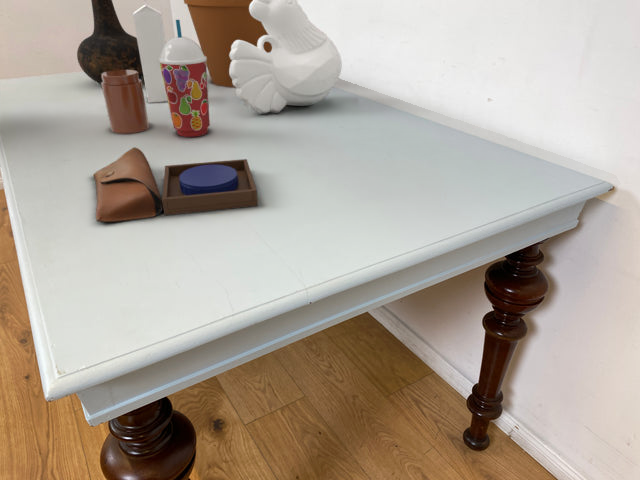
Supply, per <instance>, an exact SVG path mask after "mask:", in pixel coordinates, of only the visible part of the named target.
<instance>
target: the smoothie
mask: <svg viewBox="0 0 640 480" xmlns="http://www.w3.org/2000/svg"><path fill="white" fill-rule="evenodd" d="M175 25H176V33H177V36H175V37H172V38H170V39H169V40H168V41H166V44H165V45H164V47H163V49H162V52H161V56H160V58H159V62H160V67H161V72H162V76H163V81H164V85H165V90H166V95H167V99H168V101H167V103H168V108H169V113H170V118H171V122H172V126H173V129H174V130H176V133H177V135H178V136H181V137H185V138H195V137H196V138H197V137H201V136H204V135H206V134H207V133H208V131H209V127H210V126H211V124H210V103H209V86H208V68H207V64H206V58H207V57H206V56H204V54H203V52H202V49H201V46H200V44H198V43H197V42H195V41H194V40H193V39H191V38H189V37H186V36H182V28H181V27H182V26H181V20H180V19H175Z"/></svg>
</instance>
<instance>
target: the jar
mask: <svg viewBox="0 0 640 480" xmlns="http://www.w3.org/2000/svg"><path fill="white" fill-rule="evenodd" d="M101 75H102V77H101V78H102V80H103V82H101V84H100V86H101V90H102V94H103V100H104V103H105V109H106V113H107V118H108V122H109V126H110V131H111V132H112V133H114V134H123V135H124V134H125V135H128V134H137V133H142V132H145V131H147V130H148V129H150V122H149V117H148V110H147V104H146V99H145V93H144V88H143V82H142V79H139V78H138V72H137V71H135V70H113V71H107V72H104V73H102V74H101Z"/></svg>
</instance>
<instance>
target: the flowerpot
mask: <svg viewBox="0 0 640 480" xmlns="http://www.w3.org/2000/svg"><path fill="white" fill-rule="evenodd" d="M252 1H253V0H183V4H184V5H186V6H187V9H188V12H189V15H190V18H191V21H192V25H193V28H194V31H195V35H196V37H197V40H198V43H199V47H200V48H201V50H202V52H203V54H204V56H206V57H207V58H206V64H207V72H208V74H209V77H210V80H211V83H212V84H214V85H216V86H220V87H225V88H236V87H235V86H234V85H233V83H232V78H231V77H230V75H229V68H230V64H231V62H232V60H231V59H230V56H229V54H230V52H231V46H232V44H233V43H234V41H236V40H242V41H245V42H248V43H250V44H252V45H254V46H256V47H257V42H258V40H259V38H260V37H262V36H263V35H268V33H267V32H266V30H265V28H264V27H263V25H262V23H261V22H260V21H258V20H256V19H255V18H253V17H252V16H251V14H250V12H249V6H250V4H251V2H252ZM263 47H264V50H265V51H266V52H267V53H269V52H271V50H272V45H271V44H270V43H269V42H264V45H263Z"/></svg>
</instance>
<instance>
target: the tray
mask: <svg viewBox="0 0 640 480" xmlns="http://www.w3.org/2000/svg"><path fill="white" fill-rule="evenodd" d="M202 165H225V166H229V167H231V168H233V169H235V170H236V171H237V176H238V183H239V185H238V188H237V189H236V190H235V191H228V192H218V193H207V194H197V195H184V194H183V193H182V191H181V190H180V183H179V182H180V180H179V177H180V174H181V173H182V172H184V171H185V170H188V169H190V168H193V167H197V166H202ZM163 172H164V173H163V184H162V193H161V199H162V203H163V208H162V210H163V213H164V216H171V215H181V214H189V213H191V214H192V213H199V212H201V213H202V212H209V211H219V210H229V209H240V208H248V207H249V208H250V207H258V205H259V203H258V202H259V201H258V189H257V188H256V184H255V183H256V182H255V181H254V178H253V174H252V172H251V168H250V165H249V162H248V159H247V158H244V159H243V158H242V159H231V160H229V159H228V160H218V161H207V162H193V163H182V164H170V165H165V166H164V171H163Z"/></svg>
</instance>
